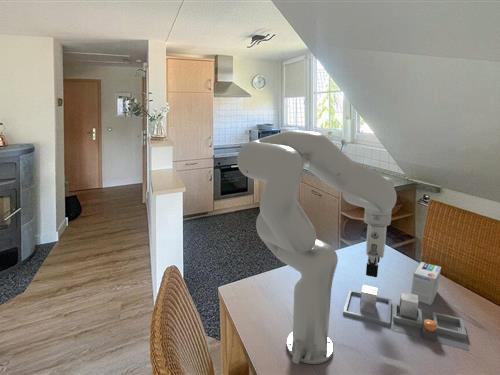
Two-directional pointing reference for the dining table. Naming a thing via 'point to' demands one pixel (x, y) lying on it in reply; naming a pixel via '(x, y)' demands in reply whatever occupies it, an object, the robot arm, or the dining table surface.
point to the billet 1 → (368, 299)
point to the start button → (430, 325)
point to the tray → (368, 316)
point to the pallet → (439, 337)
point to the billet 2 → (408, 306)
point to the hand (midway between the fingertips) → (372, 268)
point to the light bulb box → (426, 282)
